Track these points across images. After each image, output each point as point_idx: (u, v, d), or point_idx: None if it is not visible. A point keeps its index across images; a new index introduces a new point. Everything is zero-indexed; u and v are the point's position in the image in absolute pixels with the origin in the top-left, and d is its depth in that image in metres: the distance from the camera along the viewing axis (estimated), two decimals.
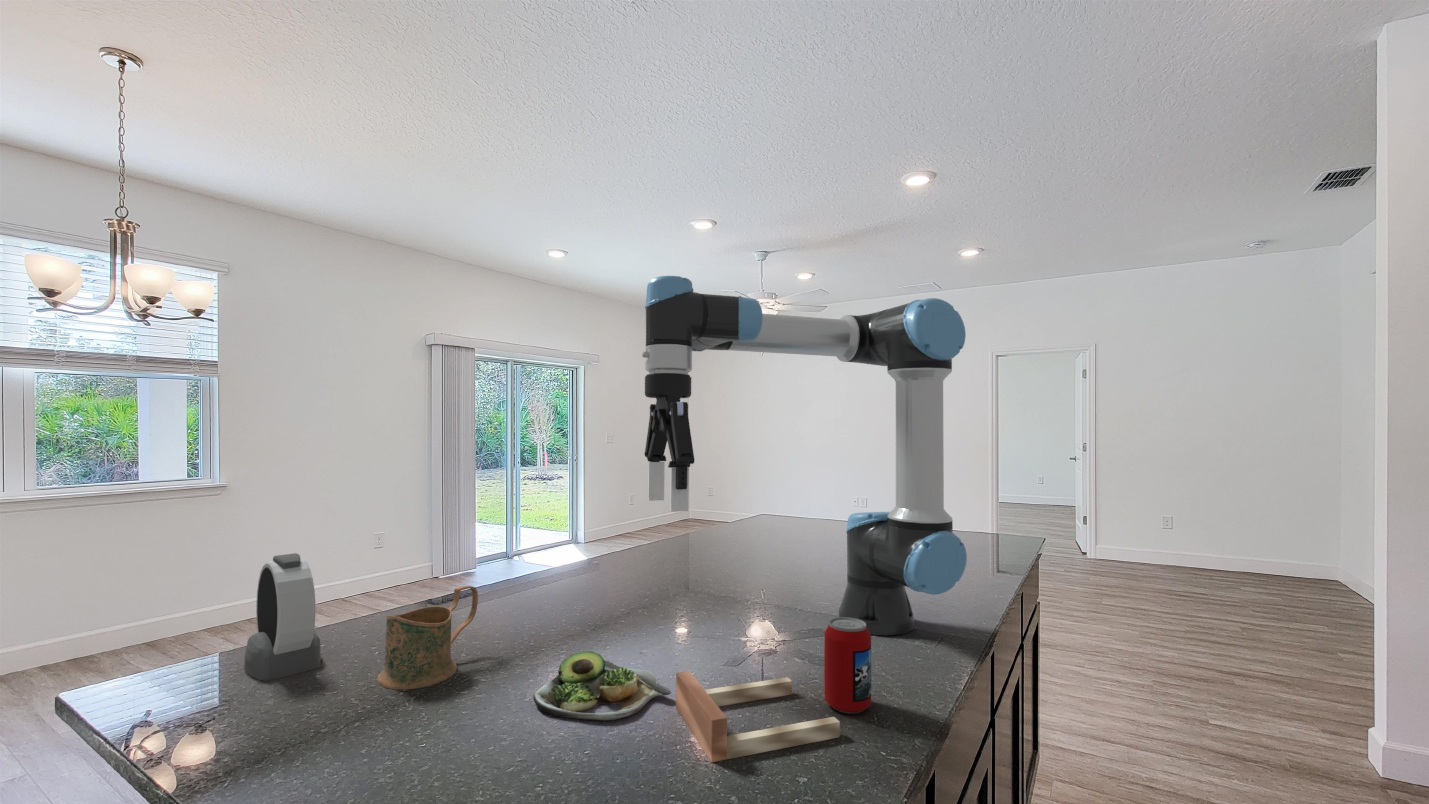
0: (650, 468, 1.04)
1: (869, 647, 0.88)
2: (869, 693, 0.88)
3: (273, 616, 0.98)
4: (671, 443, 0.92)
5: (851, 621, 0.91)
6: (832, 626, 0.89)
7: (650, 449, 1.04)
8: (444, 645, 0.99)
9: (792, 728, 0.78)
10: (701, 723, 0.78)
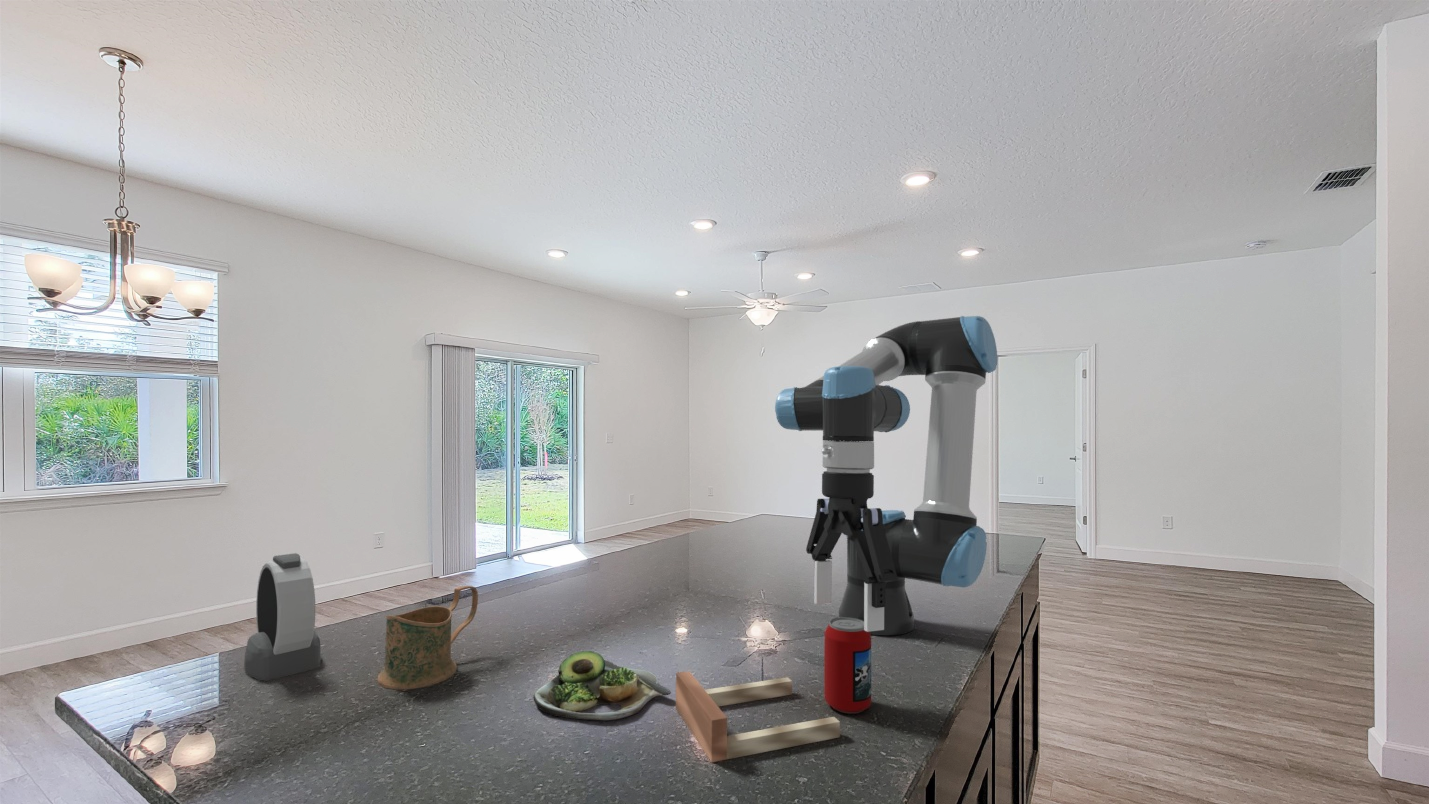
0: (817, 568, 0.95)
1: (869, 647, 0.88)
2: (869, 693, 0.88)
3: (273, 616, 0.98)
4: (864, 554, 0.84)
5: (851, 621, 0.91)
6: (832, 626, 0.89)
7: (818, 548, 0.95)
8: (444, 645, 0.99)
9: (792, 728, 0.78)
10: (701, 723, 0.78)
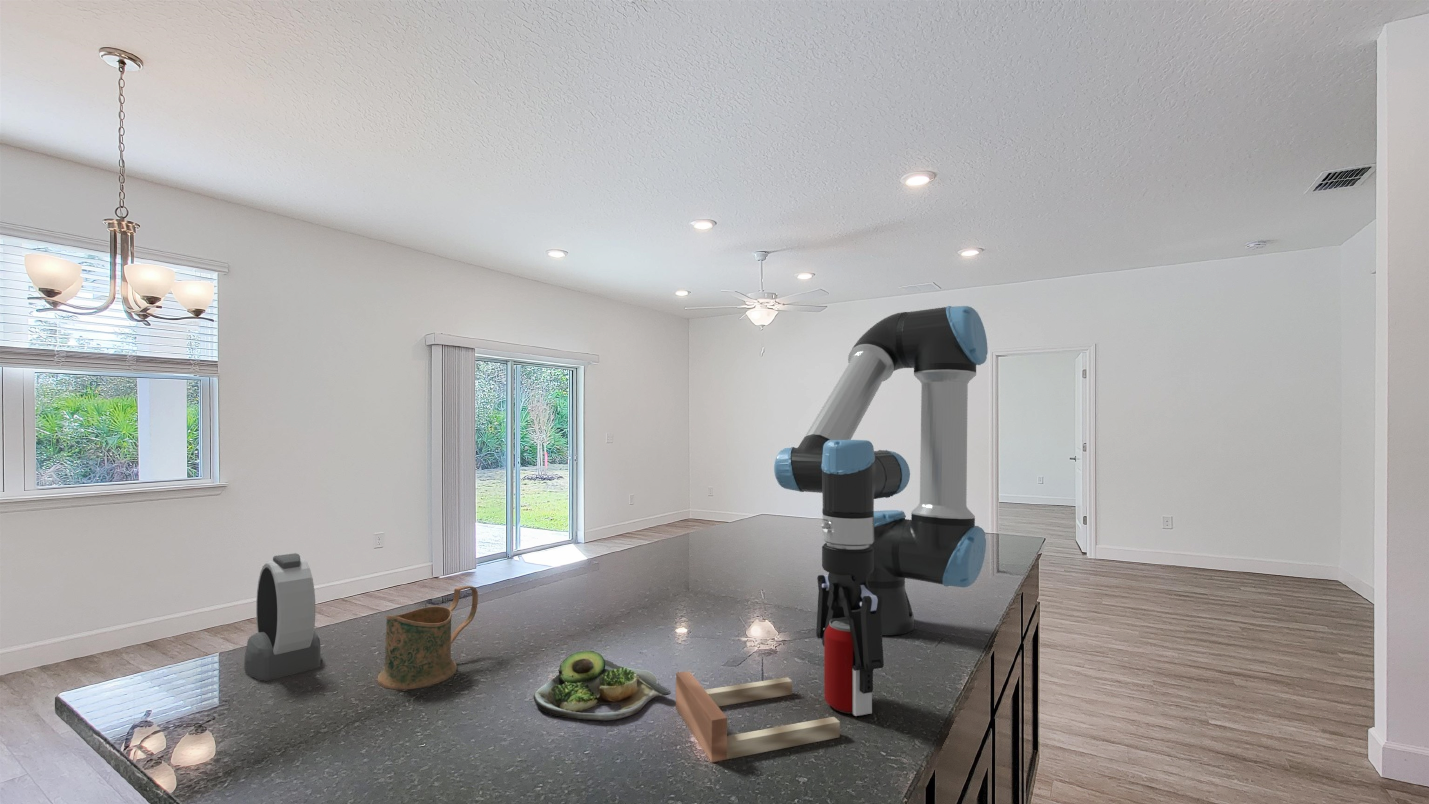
0: None
1: None
2: None
3: (273, 616, 0.98)
4: (856, 639, 0.86)
5: None
6: (832, 626, 0.89)
7: None
8: (444, 645, 0.98)
9: (792, 728, 0.78)
10: (701, 723, 0.78)
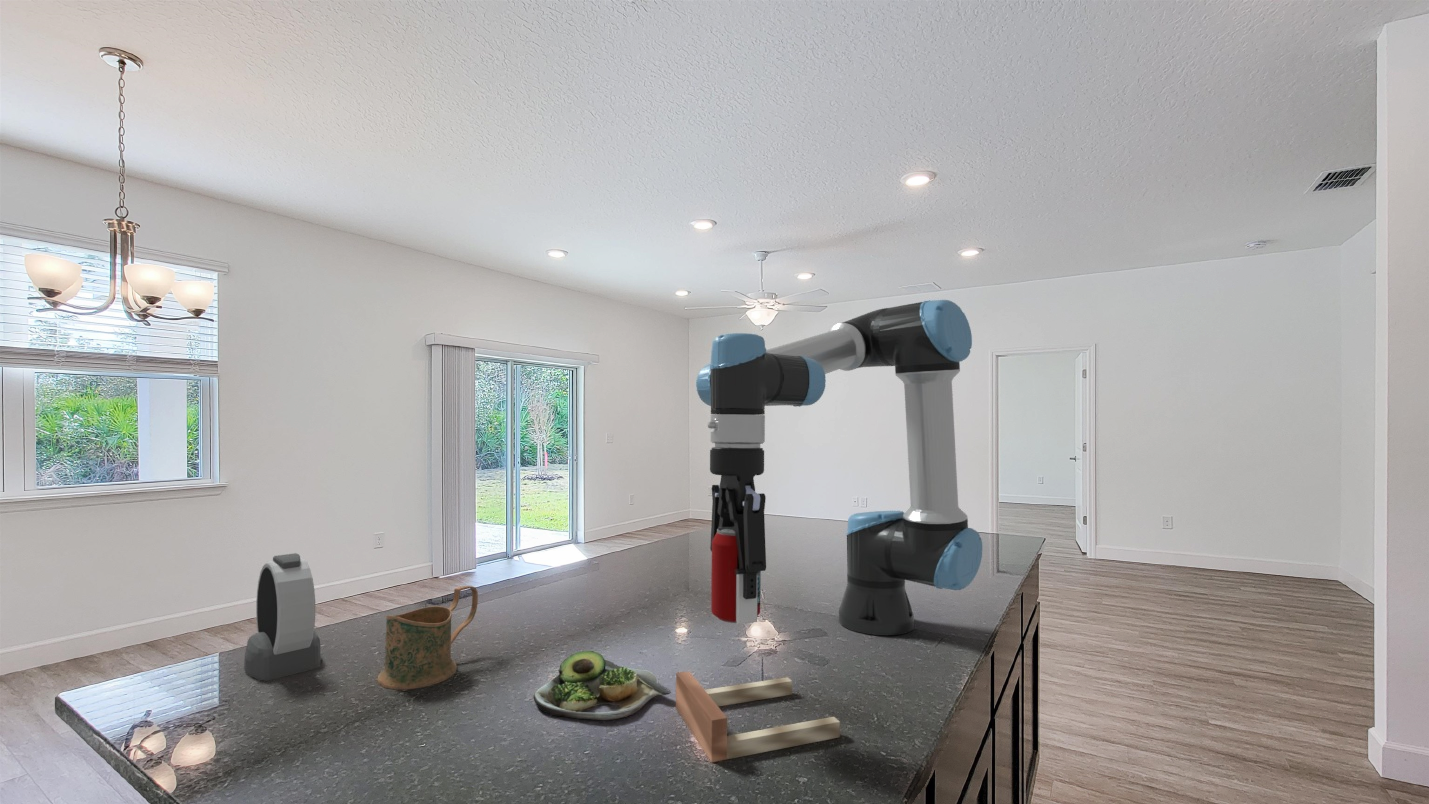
0: None
1: None
2: None
3: (273, 616, 0.98)
4: (740, 542, 0.80)
5: None
6: (718, 532, 0.83)
7: None
8: (444, 645, 0.98)
9: (792, 728, 0.78)
10: (701, 723, 0.78)
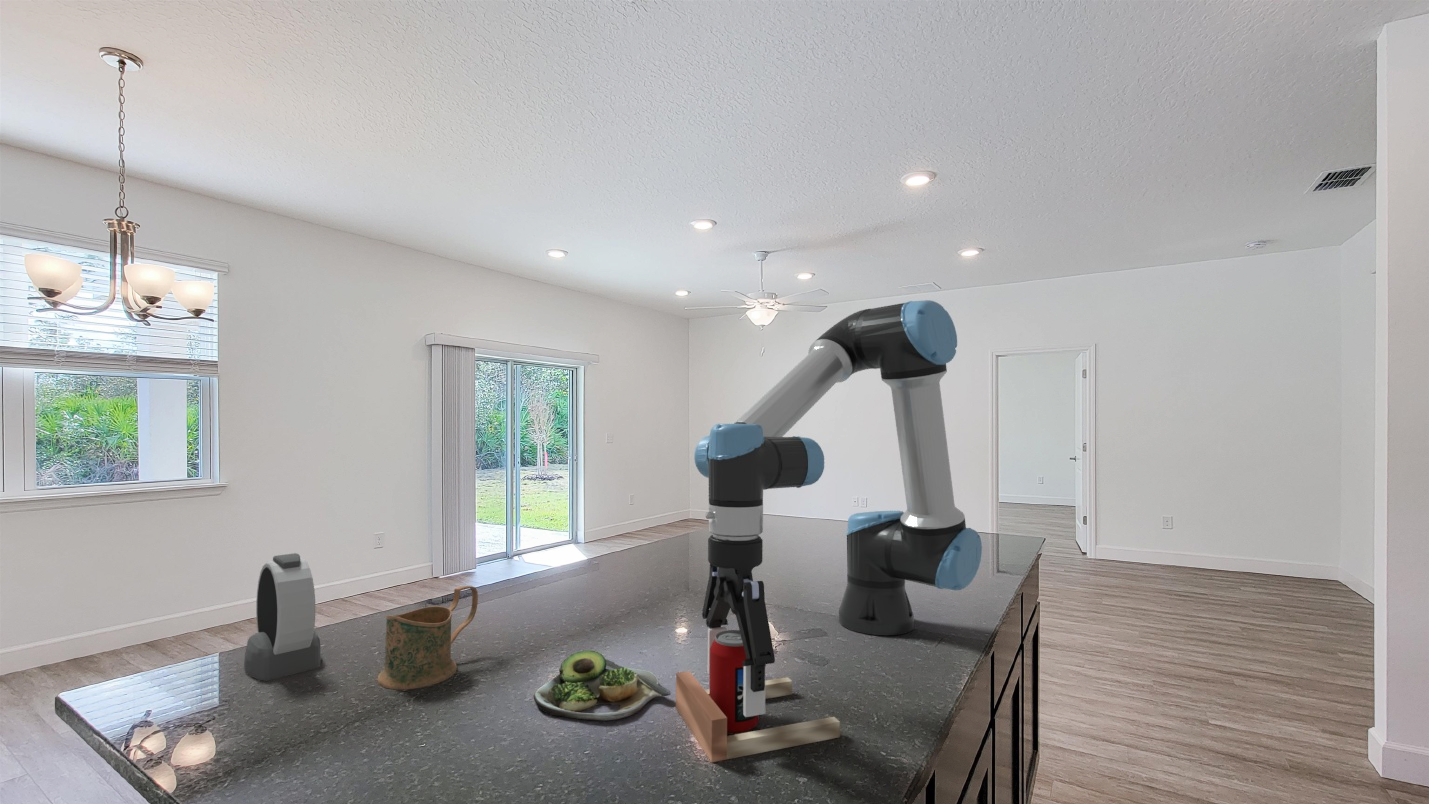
0: (710, 637, 0.89)
1: None
2: None
3: (273, 616, 0.98)
4: (744, 632, 0.78)
5: (740, 634, 0.85)
6: (716, 640, 0.83)
7: (711, 615, 0.89)
8: (444, 645, 0.99)
9: (792, 728, 0.78)
10: (701, 723, 0.78)
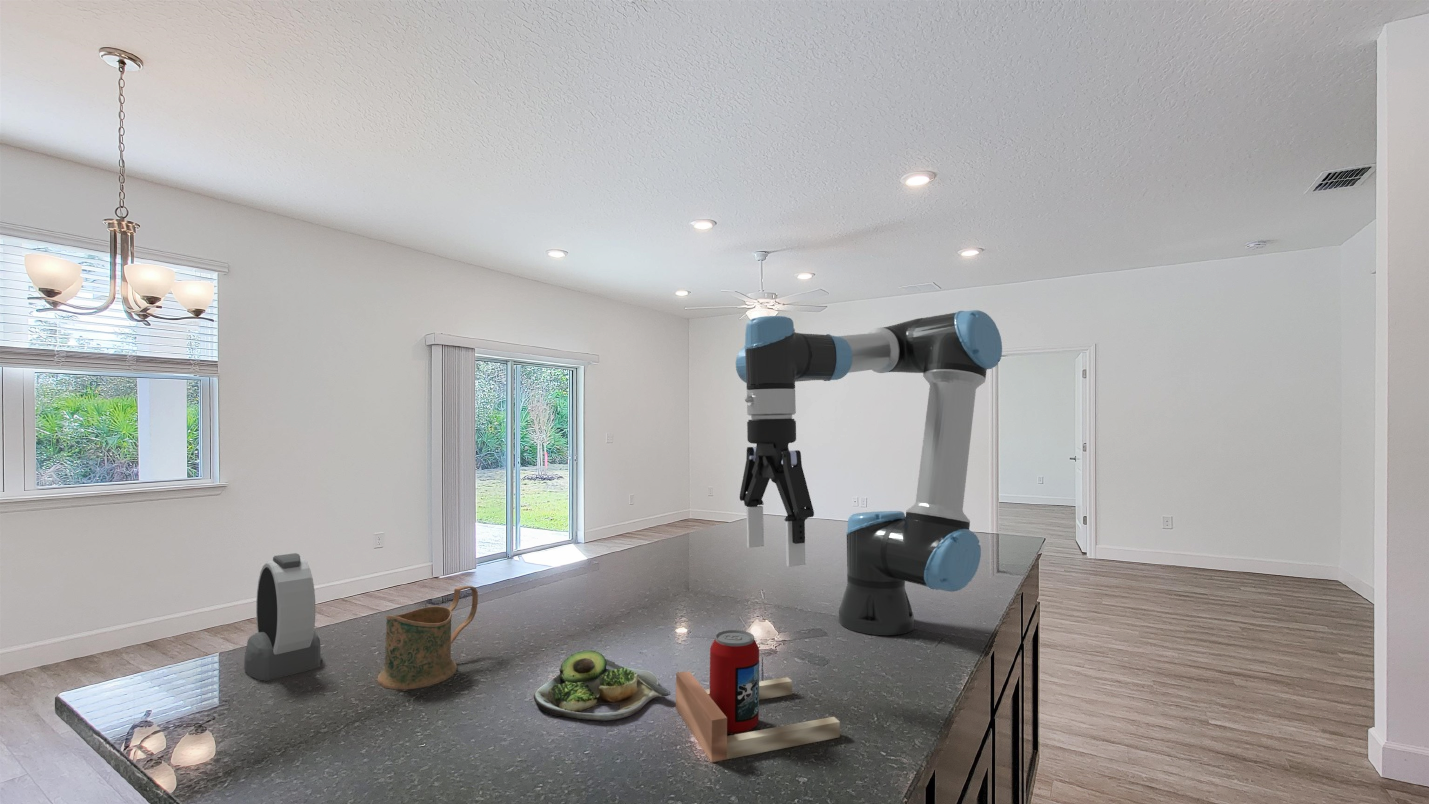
0: (749, 513, 1.00)
1: (755, 663, 0.82)
2: (755, 712, 0.81)
3: (273, 616, 0.98)
4: (784, 495, 0.88)
5: (740, 634, 0.85)
6: (717, 640, 0.83)
7: (749, 494, 0.99)
8: (444, 645, 0.99)
9: (792, 728, 0.78)
10: (701, 723, 0.78)
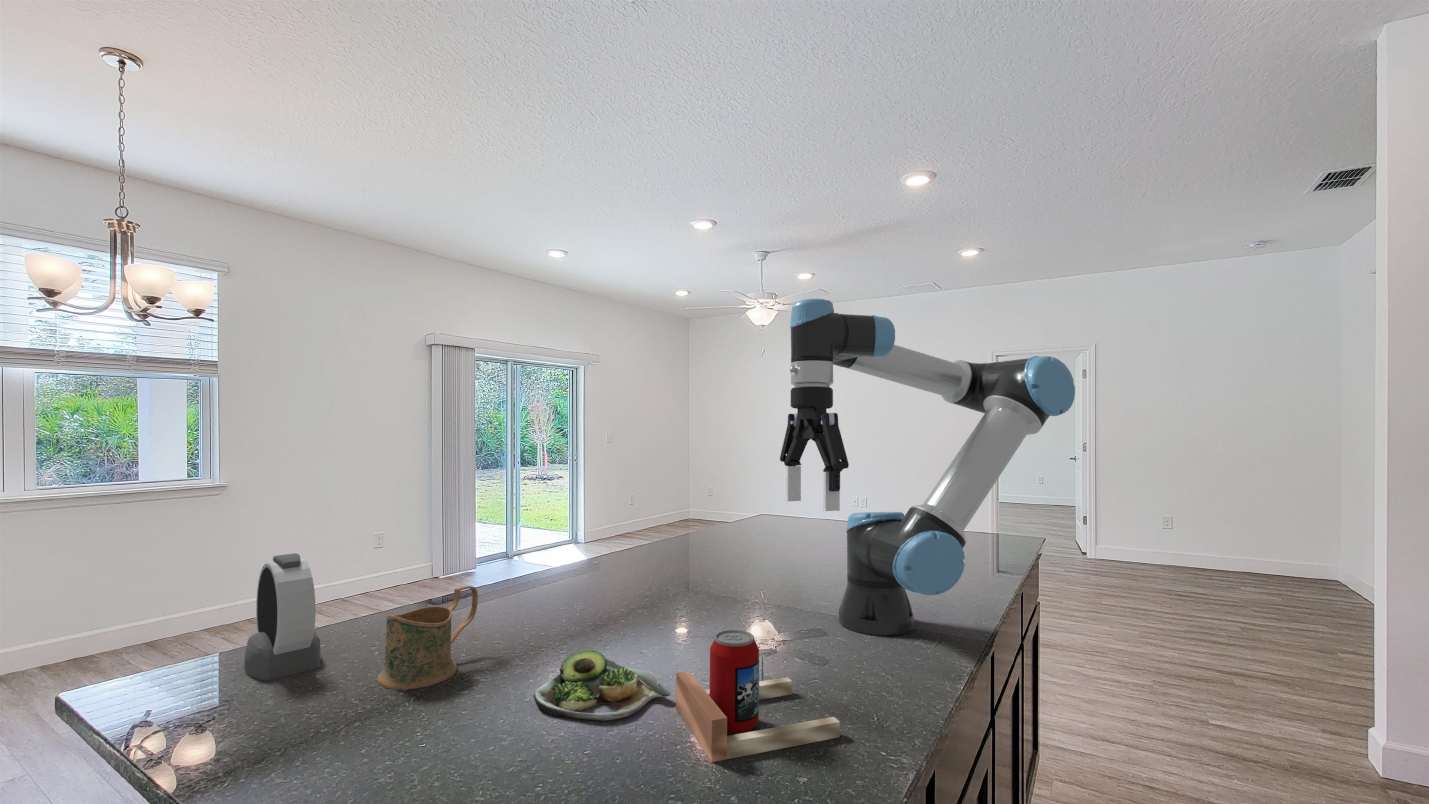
0: (788, 471, 1.14)
1: (755, 663, 0.82)
2: (755, 712, 0.81)
3: (273, 616, 0.98)
4: (823, 450, 1.03)
5: (740, 634, 0.85)
6: (716, 640, 0.83)
7: (789, 454, 1.14)
8: (444, 645, 0.99)
9: (792, 728, 0.78)
10: (701, 723, 0.78)
